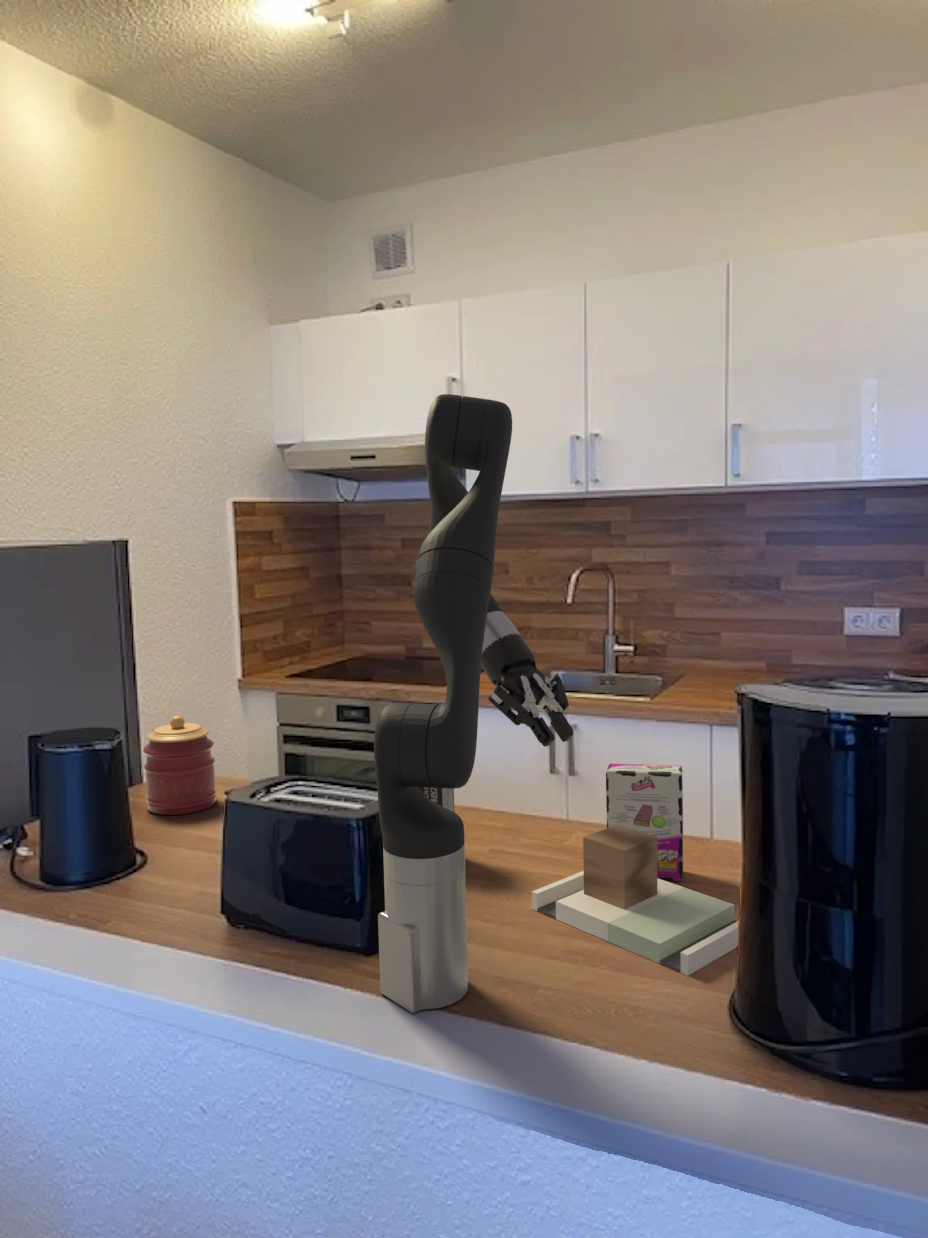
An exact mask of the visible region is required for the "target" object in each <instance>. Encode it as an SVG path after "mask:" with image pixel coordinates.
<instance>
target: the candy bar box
mask: <svg viewBox="0 0 928 1238" xmlns="http://www.w3.org/2000/svg"><path fill="white" fill-rule="evenodd" d="M683 782H684V781H683V765H670V764H668V765H667V764H640V763H639V764H638V763H635V764H634V763H609V764H608V767H607V768H606V772H605V793H606V794H605V796H606V797H605V798H606V803H605V804H606V829H607V828H610V827H612V826H615V825H619V826H622V827H625V828H629V829H632V830H635V831H639V832H642V833H645V834H649V835H652V836H655V837H657V878H658V879H661V880H664V881H667V882H683V880H684V879H683V878H684V797H683V796H684V795H683V793H684V791H683V787H684V786H683V785H684V784H683Z"/></svg>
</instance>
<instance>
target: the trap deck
mask: <svg viewBox="0 0 928 1238" xmlns="http://www.w3.org/2000/svg"><path fill="white" fill-rule="evenodd" d="M735 907H736V906H735V904H733V903H732V902H727V901H726V900H725V901H724V900H722V899H719V898H717V897H713V896H710V895H707V894H704V893H702V892H699V891H696V890H692V889H690V888H687V887H684V886H681V885H679V884H676V883H675V884H674V883H673V882H671V881H664V880H661V879H658V878H657V895H655V896H653V897H651V898H649V899H646V900H644V901H642V902H640V903H638V904H636V905H633V906H631V907H629V908H627V909H625V910H624V909H621V908H619V907H616V906H614V905H611V904H608V903H606V902H603V901H601V900H598V899H596V898H593V897H590V896H588V895H585V894H584V870H582V871H579V872H576V873H574V874H571V875H569V876H567V877H564V878H562V879H559V880H557V881H555V882H552V883H550V884H546V885H545V886H541V887H539V888H537V889H535V890H533V891H531V909H532V910H534V911H536V912H539V913H541V914H543V915H545V916H548V917H549V918H552V919H554V920H557V921H559V922H561V923H563V924H566V925H569V926H571V927H573V928H576V929H578V930H580V931H582V932H585V933H587V934H589V935H592V936H595V937H596V938H598V939H602V940H603V941H605V942H608V943H611V944H613V945H615V946H617V947H620V948H623V949H624V950H626V951H629V952H631V953H634V954H636V955H638V956H640V957H643V958H645V959H648V960H650V961H653V962H654V963H657V964H659V965H661V966H664V967H666V968H669V969H671V970H674V971H676V972H677V973H680V974H683V975H685V976H690V975H691V974H693V973H695V972H697V971H698V970H700V969H702V968H704V967H705V966H707V965H708V964H709V965H710V964H711V963H712V962H714V961H716V960H718V959H719V958H721V957H723V956H724V955H726V954H727V953H729V952H731V951H733V950H735V949H736V944H737V938H738V923H739V920H735Z"/></svg>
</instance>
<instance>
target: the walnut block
mask: <svg viewBox="0 0 928 1238" xmlns="http://www.w3.org/2000/svg"><path fill="white" fill-rule="evenodd" d="M582 840H583V841H582V843H583V845H582V846H583V848H582V849H583V850H582V851H583V857H582V858H583V871H584V894H585V895H588V896H590V897H593V898H596V899H598V900H601V901H603V902H606V903H608V904H611V905H614V906H616V907H619V908H621V909H624V910H625V909H627V908H629V907H631V906H633V905H636V904H638V903H640V902H642V901H644V900H646V899H649V898H651V897H653V896H655V895H657V837H655V836H652V835H649V834H645V833H642V832H639V831H635V830H632V829H629V828H625V827H622V826H619V825H615V826H612V827H610V828H607V827H606V828H605V829H602V830H598V831H597V832H596V831H595V832H594V833H591V834H588V835H585V836H583V837H582Z"/></svg>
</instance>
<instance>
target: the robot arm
mask: <svg viewBox="0 0 928 1238" xmlns="http://www.w3.org/2000/svg"><path fill="white" fill-rule="evenodd" d="M425 425H426V426H425V433H424V454H425V455H424V456H425V465H426V477H427V486H428V493H429V495H428V496H429V502H430V518H429V531H428V535H427V537H426V538H425V539H424V540H423V542H422V544H421V546H420V549H419V554H418V557H417V558H418V559H417V560H416V563H415V564H414V570H413V571H414V577H415V579H414V584H413V592H412V593H413V595H412V596H413V597H412V598H413V604H414V607H415V609H416V612H417V615H418V617H419V619H420V621H421V623H422V625H423V627H424V630H425V631H426V633H427V635H428V636H429V638H430V640H431V641H432V644H433V646H434V647H435V650H436V652H437V653H438V656H439V659H440V662H441V664H442V666H443V669H444V674H445V681H446V695H445V696H446V697H445V701H444V704H443V703H417V702H416V703H414V702H413V703H412V702H411V703H410V702H409V703H408V702H406V703H405V702H395V703H390V704H387V705H386V706H385V707H384V708H382V710H381V711H380V713H379V715H378V716H377V717H378V718H377V719H376V723H375V728H374V736H373V739H374V740H373V756H374V771H375V779H376V789H377V801H378V817H379V819H378V820H379V826H380V830H381V836H382V847H383V848H382V850H383V851H382V853H383V854H382V855H383V856H382V858H383V885H384V911H381V912H379V913H378V915H377V925H378V926H377V927H378V931H377V933H378V954H379V956H378V957H379V977H380V978H379V983H380V984H379V986H380V993H381V994H382V995H383V996H385V997H387V998H388V999H390V1000H391V1001H393V1002H395V1003H396V1004H397V1005H399V1006H401V1007H402V1008H403V1009H405V1010H406V1011H408V1012H410V1013H412V1014H413V1013H417V1012H419V1011H421V1010H422V1011H423V1010H433V1009H440V1008H445V1007H448V1006H451V1005H453V1004H454V1003H458V1002H459V1001H460V1000H461V999H463V998H464V996H466V994H467V992H468V990H469V980H468V979H469V975H468V973H469V971H468V967H469V966H468V934H467V933H468V931H467V927H468V926H467V899H466V898H467V892H466V891H467V889H466V852H465V851H466V849H465V847H466V846H465V845H466V844H465V825H464V821H463V820H462V817H461V816H460V815H458V813H456V812H455V813H454V812H453V811H451V810H449V809H447V808H444V807H442V806H440V805H438V804H436V803H434V802H433V801H431V800H430V799H428V798H427V797H426V796H425V795H424V794H423V793H422V792H421V791H420V790H419V788H418V787H428V788H448V789H454V790H455V789H460V788H462V787H464V786H466V785H467V783H468V782H469V781H470V778H471V776H472V773H473V769H474V765H475V760H476V752H477V744H478V743H477V741H478V726H479V707H480V706H479V703H480V686H481V685H480V684H481V669H482V670H483V671H484V673H485V674H486V675H487V677H488V679H489V680H490V682H491V683H492V685H494V686H495V688H494V690H493V691H492V692H491V693H490V695H489V696H488V701H489V702H490V703H491V704H492V705H493V706H494V707H496V708H497V709H498V711H500V712H501V713H502V714H503V715H504V716H505V717H506V718H507V719H509V720H510V722H512V723H513V724H514V725H516V726H520V725H521V724H522V725H524V726H525V727H528V728H530V730H531V731H532V733H533V734H534V736H535V738H536V739H537V742H539V743H540V744H541V745H542V746H543V747H549V746H550V745H551V744H552V743H553V742H554V741H555V738H556V737H555V735H554V732H552V730H551V729H550V727H549V725H548V724H547V722H546V721H545V719H544V718H543V717H541V714H540V712H541V713H542V714H543V715H544V716H545V717H546V718H547V719H548V720H549V721H550V722H549V724H550V725H551V727H552V728H553V730H554V731H555V733H556V734H557V736H558V738H559V739H560V740H561V742H564V743H565V742H568V741H569V740H570V739H571V738H573V736H574V730H573V727H572V726H571V724H570V722H569V721H568V720H567V718H566V717H565V715H564V711H565V710H566V709H568V707H569V706H570V703H569V700H568V697H567V694H566V690H565V687H564V683H563V680H562V678H561V676H559V675H557V674H556V675H554V677H553V678H551V677H547V676H545V674H544V673H543V672H542V671H540V670H539V668H537V665H536V656H535V654H534V653H533V651H532V650H531V649H530V646H529V645H528V644H527V642H526V641H525V639H524V638H523V637H522V635H521V634H520V632H519V630H518V629H517V628H516V626H515V625H514V623H513V622H512V621H511V620H510V618H509V617H507V615H506V614H505V613H504V611H503V610H502V609H501V606H500V605H499V604H498V602H497V601H496V599H495V598H494V596H493V595H492V594H491V591H492V587H493V586H492V584H493V575H494V565H495V552H496V540H497V529H498V518H499V510H500V506H501V505H500V504H501V498H502V492H503V487H504V483H505V482H504V481H505V475H506V470H507V465H508V459H509V455H510V449H511V448H510V447H511V443H512V434H513V433H512V432H513V417H512V411H511V408H510V407H509V406H508V405H507V404H506V403H505V402H501V401H498V400H495V399H487V398H480V397H474V396H472V397H471V396H467V395H466V396H465V395H459V394H449V393H446V394H445V393H444V394H439V395H437V396H436V397H434V399H433V400H432V402H431V404H430V407H429V410H428V414H427V419H426V424H425ZM453 468H456V469H464V470H470V471H477V472H479V473H478V475H477V476H476V479H475V481H474V482H473V484H472V486H471V487H470V488H469V491H468V490H467V488H466V487H465V485H464V484H463V483H462V481H461V480H460V479H459V477H458V475H456V473H455V471H454V469H453ZM542 699H543V700H542ZM541 700H542V701H541ZM549 706H550V707H551V709H552V710H551V709H550V708H549ZM512 709H513V710H514V711H516V713H515V712H514V711H513V710H512Z"/></svg>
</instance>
